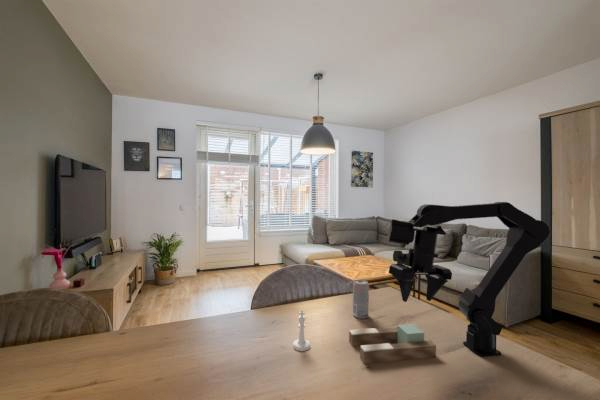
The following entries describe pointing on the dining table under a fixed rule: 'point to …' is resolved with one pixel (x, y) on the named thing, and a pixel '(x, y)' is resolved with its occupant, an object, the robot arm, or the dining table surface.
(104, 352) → the dining table surface
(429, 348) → the chute
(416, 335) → the block
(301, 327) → the chess piece
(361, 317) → the energy drink
